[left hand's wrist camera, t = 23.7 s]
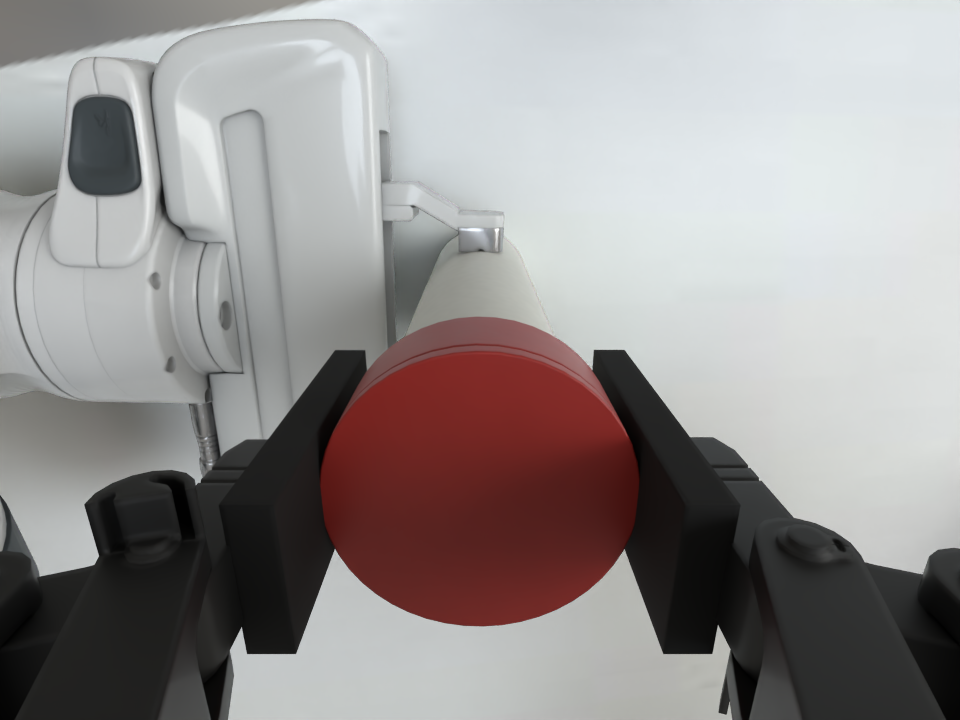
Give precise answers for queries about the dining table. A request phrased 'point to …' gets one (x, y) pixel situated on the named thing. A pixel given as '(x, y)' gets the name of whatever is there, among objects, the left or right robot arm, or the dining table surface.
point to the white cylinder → (479, 289)
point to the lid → (479, 475)
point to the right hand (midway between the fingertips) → (501, 304)
